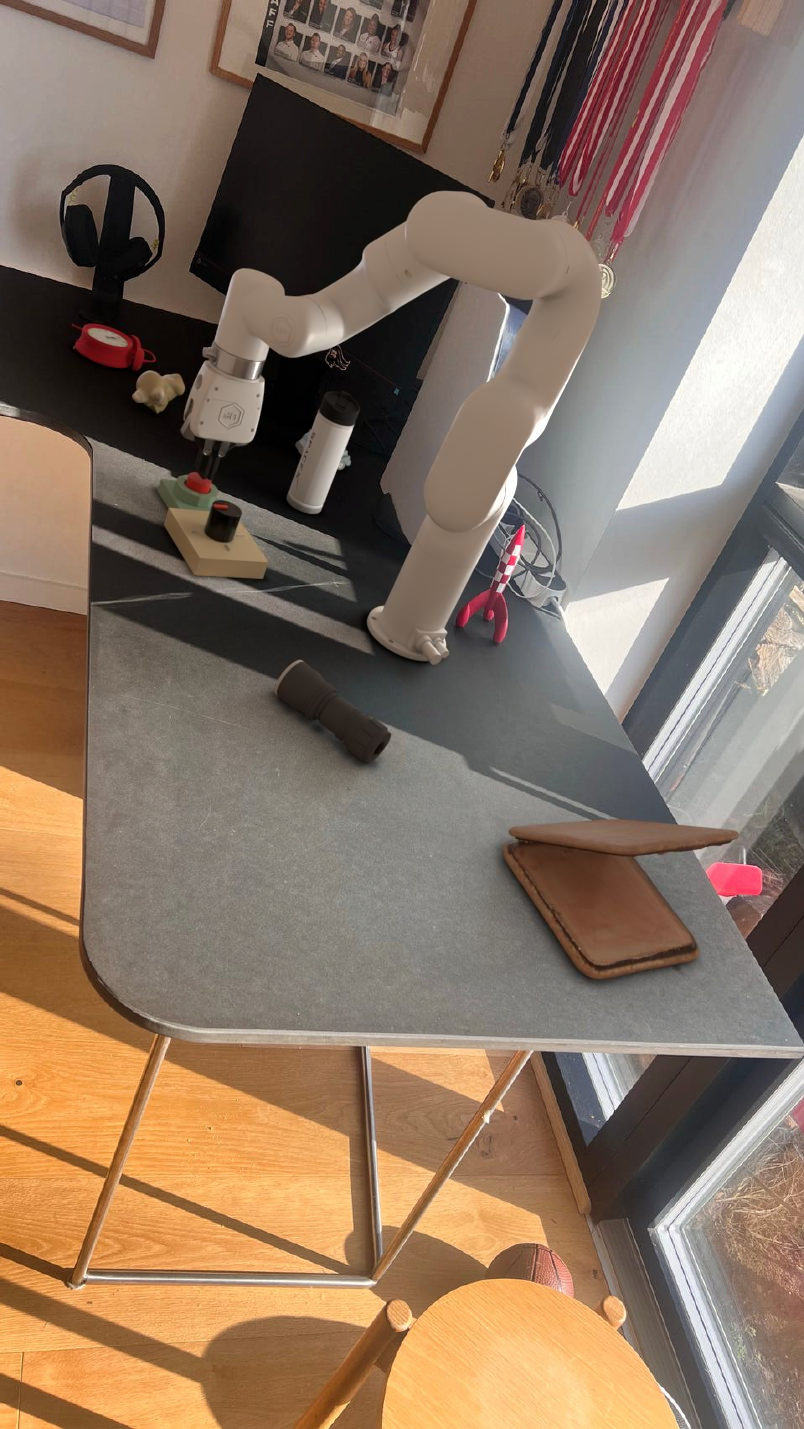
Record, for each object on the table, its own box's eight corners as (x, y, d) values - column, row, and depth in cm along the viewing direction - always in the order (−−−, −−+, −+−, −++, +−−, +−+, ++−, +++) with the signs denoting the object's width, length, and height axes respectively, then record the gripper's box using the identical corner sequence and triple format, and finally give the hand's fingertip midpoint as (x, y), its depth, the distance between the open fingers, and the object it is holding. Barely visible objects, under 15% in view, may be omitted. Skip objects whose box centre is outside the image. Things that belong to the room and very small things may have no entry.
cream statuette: (187, 375, 184) (170, 373, 172) (185, 415, 186) (168, 416, 174) (142, 369, 184) (122, 367, 172) (141, 410, 186) (121, 410, 174)
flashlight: (385, 756, 128) (401, 725, 125) (362, 772, 124) (378, 740, 121) (294, 687, 132) (308, 654, 129) (269, 700, 128) (282, 667, 125)
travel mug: (323, 504, 178) (364, 400, 167) (317, 519, 173) (358, 412, 162) (290, 490, 177) (329, 384, 166) (282, 504, 172) (322, 396, 161)
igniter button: (212, 495, 156) (215, 485, 155) (190, 493, 154) (193, 483, 153) (203, 483, 158) (206, 473, 157) (182, 481, 156) (185, 471, 155)
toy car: (347, 471, 193) (356, 448, 191) (300, 463, 188) (309, 439, 185) (335, 454, 198) (343, 432, 195) (289, 446, 192) (297, 423, 189)
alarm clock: (69, 317, 189) (150, 321, 195) (70, 350, 193) (150, 352, 199) (76, 340, 182) (160, 343, 188) (77, 373, 186) (159, 375, 192)
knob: (226, 527, 152) (235, 499, 149) (237, 543, 149) (247, 515, 146) (199, 525, 149) (208, 496, 146) (210, 542, 146) (220, 513, 144)
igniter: (224, 526, 158) (232, 504, 156) (176, 522, 153) (183, 499, 151) (204, 495, 163) (210, 473, 161) (157, 490, 158) (163, 468, 156)
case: (608, 832, 134) (671, 743, 125) (705, 961, 121) (783, 872, 112) (489, 843, 122) (549, 746, 114) (581, 987, 110) (658, 890, 101)
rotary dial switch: (262, 578, 150) (269, 561, 148) (194, 575, 144) (200, 556, 142) (229, 530, 158) (235, 512, 156) (163, 524, 151) (169, 506, 149)
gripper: (198, 365, 138) (166, 483, 148) (292, 381, 147) (256, 492, 157) (178, 341, 143) (149, 457, 153) (272, 358, 152) (238, 468, 162)
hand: (203, 475), depth 155 cm, fingers closed
